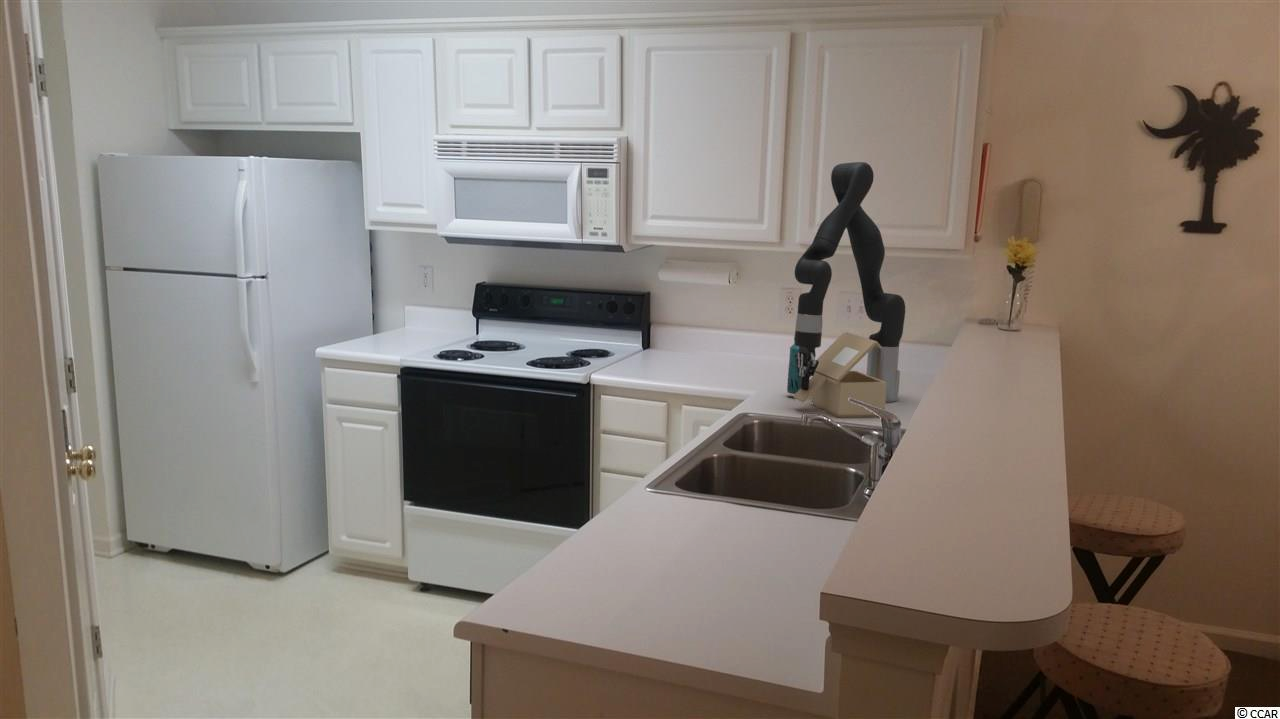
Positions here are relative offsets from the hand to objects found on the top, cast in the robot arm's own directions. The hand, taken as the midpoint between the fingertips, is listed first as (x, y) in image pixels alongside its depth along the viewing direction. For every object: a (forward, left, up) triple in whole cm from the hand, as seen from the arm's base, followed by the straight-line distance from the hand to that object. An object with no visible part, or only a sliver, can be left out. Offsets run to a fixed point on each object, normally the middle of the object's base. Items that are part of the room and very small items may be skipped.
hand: (803, 389), depth 272 cm
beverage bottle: (-6, -20, -7) cm, 22 cm away
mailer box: (-14, 0, -6) cm, 15 cm away
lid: (-9, 0, +4) cm, 10 cm away
